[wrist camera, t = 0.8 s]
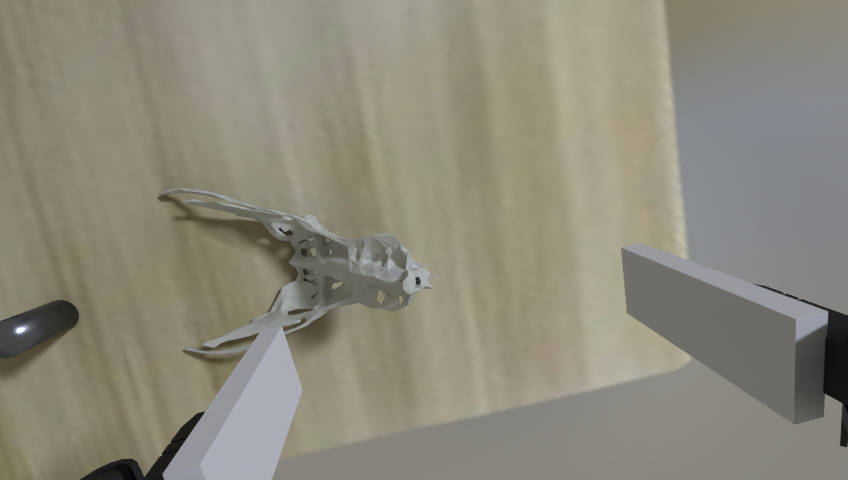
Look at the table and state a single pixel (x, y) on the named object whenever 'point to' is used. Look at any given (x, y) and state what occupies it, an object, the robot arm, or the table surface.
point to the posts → (36, 327)
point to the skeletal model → (324, 270)
